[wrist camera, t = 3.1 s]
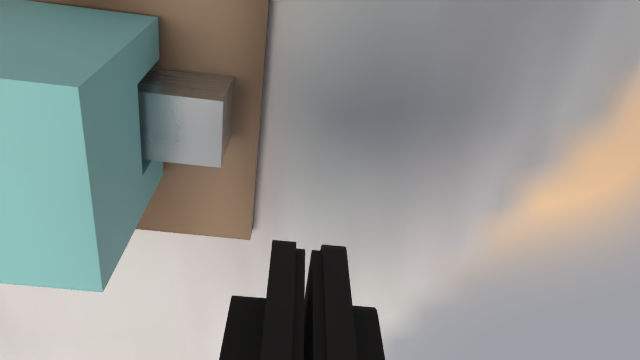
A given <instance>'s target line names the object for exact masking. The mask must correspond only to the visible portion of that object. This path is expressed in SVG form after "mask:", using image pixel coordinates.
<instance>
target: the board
mask: <svg viewBox="0 0 640 360" xmlns="http://www.w3.org/2000/svg"><path fill="white" fill-rule="evenodd" d="M27 1H35V2H43V3H51V4H59V5H67V6H75V7H82V8H90V9H98V10H106V11H114V12H122V13H130V14H138V15H145V16H153V17H158V30H159V60H158V61H157V62H156V63H155V64H154V66H156V67H164V68H172V69H181V70H189V71H197V72H206V73H214V74H222V75H231V76H234V82H233V105H232V128H231V139H230V142H229V145H228V148H227V151H226V154H225V157H224V160H223V163H222V166H221V168H218V167H209V166H199V165H190V164H181V163H171V162H163V176H162V178H161V180H160V182H159V184H158V186H157V188H156V190H155V192H154V194H153V196H152V198H151V199H150V201H149V203H148V205H147V207H146V209H145V211H144V213H143V215H142V217H141V219H140V221H139V223H138V225H137V227H136V229H142V230H153V231H163V232H173V233H183V234H194V235H204V236H214V237H225V238H235V239H245V240H250V239H251V233H252V226H253V213H254V199H255V186H256V172H257V159H258V146H259V132H260V119H261V105H262V92H263V78H264V65H265V52H266V38H267V25H268V11H269V0H27Z"/></svg>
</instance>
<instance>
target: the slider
mask: <svg viewBox="0 0 640 360" xmlns="http://www.w3.org/2000/svg"><path fill="white" fill-rule="evenodd" d="M158 60H159V30H158V17H153V16H145V15H138V14H130V13H122V12H114V11H106V10H98V9H90V8H82V7H75V6H67V5H59V4H51V3H43V2H35V1H27V0H0V283H3V284H15V285H26V286H37V287H49V288H60V289H71V290H83V291H94V292H103V291H104V289H105V287H106V285H107V283H108V281H109V279H110V277H111V275H112V273H113V271H114V269H115V267H116V266H117V264H118V262H119V260H120V258H121V256H122V254H123V252H124V250H125V248H126V246H127V244H128V242H129V240H130V238H131V236H132V234H133V233H134V231H135V229H136V227H137V225H138V223H139V221H140V219H141V217H142V215H143V213H144V211H145V209H146V207H147V205H148V203H149V201H150V199H151V198H152V196H153V194H154V192H155V190H156V188H157V186H158V184H159V182H160V180H161V178H162V176H163V162H162V161H152V160H143V159H142V157H141V139H140V122H139V105H138V88H137V84H138V83H139V82H140V81H141V79H142V78H143V77H144V76H145V75H146V74H147V73H148V71H149V70H150V69H151V68H152V67H153V66H154V64H155V63H156V62H157V61H158Z"/></svg>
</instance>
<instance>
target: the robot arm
mask: <svg viewBox="0 0 640 360" xmlns="http://www.w3.org/2000/svg"><path fill="white" fill-rule="evenodd" d="M304 290H305V249H296V242H289V241H278V240H273V241H272V250H271V259H270V269H269V278H268V287H267V297H266V298H255V297H243V296H232V298H231V302H230V307H229V312H228V317H227V322H226V327H225V332H224V338H223V343H222V348H221V353H220V358H219V360H385V356H384V350H383V344H382V338H381V332H380V326H379V319H378V314H377V310H376V309H375V308H374V307H362V306H352V298H351V289H350V279H349V270H348V260H347V251H346V247H342V246H332V245H322V246H321V250H320V251H317V250H312V253H311V259H310V266H309V272H308V279H307V286H306V293H305V299H304Z"/></svg>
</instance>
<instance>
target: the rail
mask: <svg viewBox="0 0 640 360" xmlns="http://www.w3.org/2000/svg"><path fill="white" fill-rule="evenodd" d="M233 82H234V76H231V75H222V74H214V73H206V72H197V71H189V70H181V69H172V68H164V67H156V66H153V67H152V68H151V69H150V70H149V71H148V73H147V74H146V75H145V76H144V77H143V78H142V79H141V81H140V82H139V83H138V84H137V88H138V105H139V122H140V139H141V157H142V159H143V160H152V161H162V162H171V163H181V164H190V165H199V166H209V167H218V168H221V166H222V163H223V160H224V157H225V154H226V151H227V148H228V145H229V142H230V139H231V128H232V105H233Z"/></svg>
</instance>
